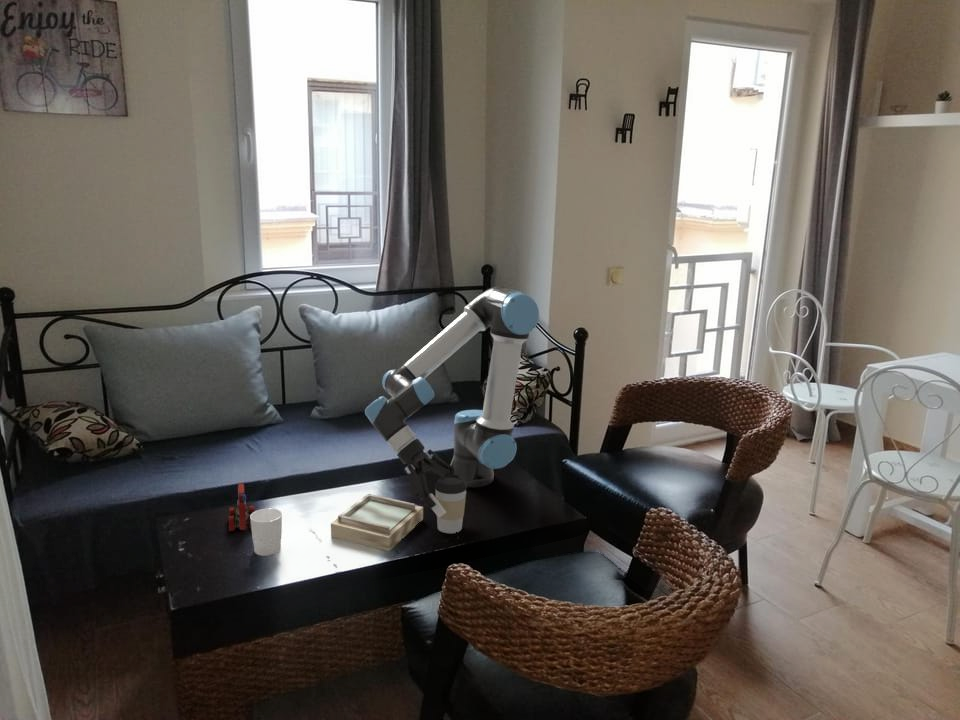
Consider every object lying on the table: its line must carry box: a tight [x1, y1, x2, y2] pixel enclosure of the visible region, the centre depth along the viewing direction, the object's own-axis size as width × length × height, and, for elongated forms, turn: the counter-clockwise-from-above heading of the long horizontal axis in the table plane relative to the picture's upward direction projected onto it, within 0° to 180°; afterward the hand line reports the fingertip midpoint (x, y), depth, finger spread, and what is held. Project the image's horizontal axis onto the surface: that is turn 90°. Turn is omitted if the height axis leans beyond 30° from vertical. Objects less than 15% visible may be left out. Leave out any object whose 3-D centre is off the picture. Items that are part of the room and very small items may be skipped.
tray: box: [330, 493, 424, 552], centre depth 202 cm, size 20×18×6 cm
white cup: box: [250, 507, 283, 557], centre depth 188 cm, size 8×8×10 cm
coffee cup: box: [434, 474, 468, 534], centre depth 203 cm, size 9×9×15 cm
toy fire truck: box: [228, 483, 256, 532], centre depth 201 cm, size 7×12×10 cm, turn 18°
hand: (453, 505), depth 202 cm, fingers open, 13 cm apart
